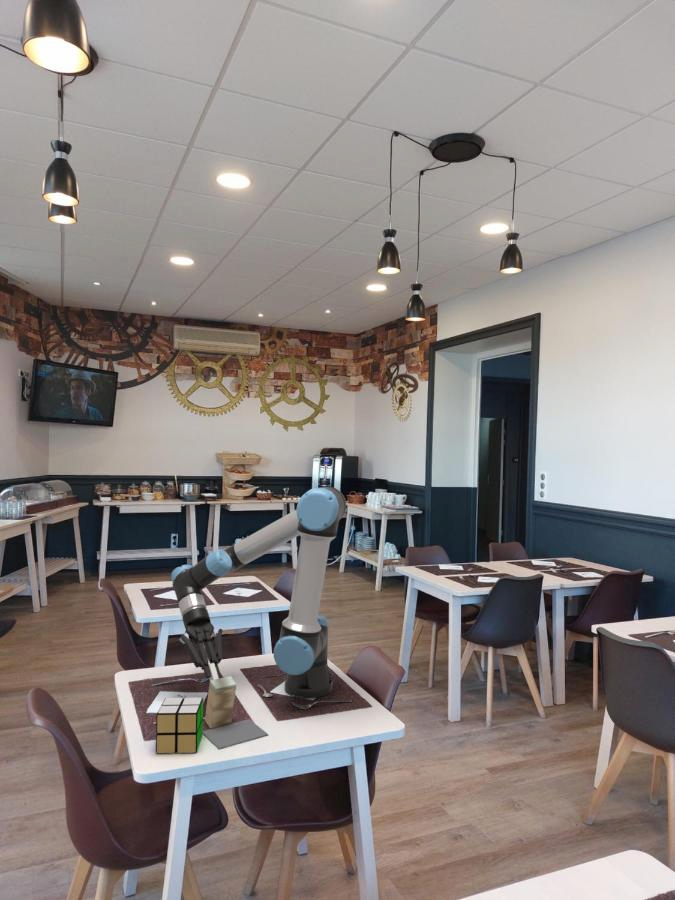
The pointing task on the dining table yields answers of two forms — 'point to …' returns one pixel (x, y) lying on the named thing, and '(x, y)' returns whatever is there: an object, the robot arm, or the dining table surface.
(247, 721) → the felt mat
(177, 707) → the puzzle cube
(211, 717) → the maple block
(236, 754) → the dining table surface
